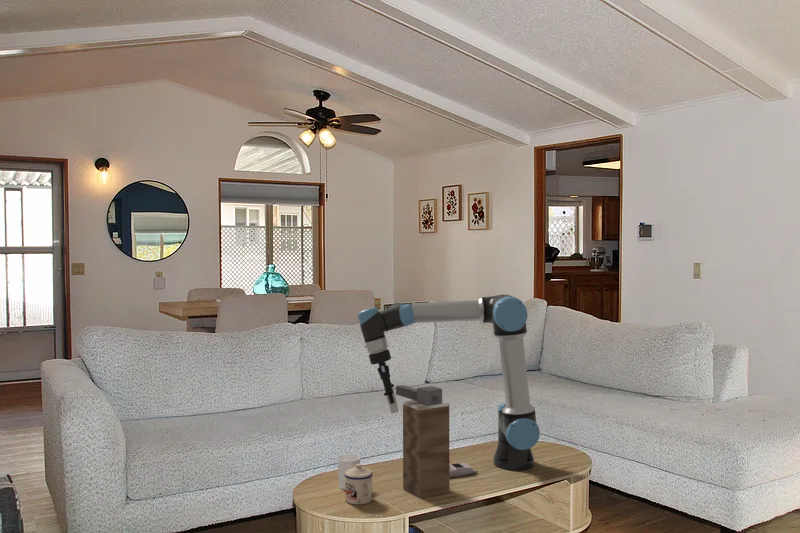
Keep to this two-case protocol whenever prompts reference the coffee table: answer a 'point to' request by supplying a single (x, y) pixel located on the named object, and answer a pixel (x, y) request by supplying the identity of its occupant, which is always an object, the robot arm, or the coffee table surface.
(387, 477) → the coffee table surface
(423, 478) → the brown wooden tall block
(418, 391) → the gray block
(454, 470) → the mobile phone
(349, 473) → the teacup with lid
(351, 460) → the white cup
